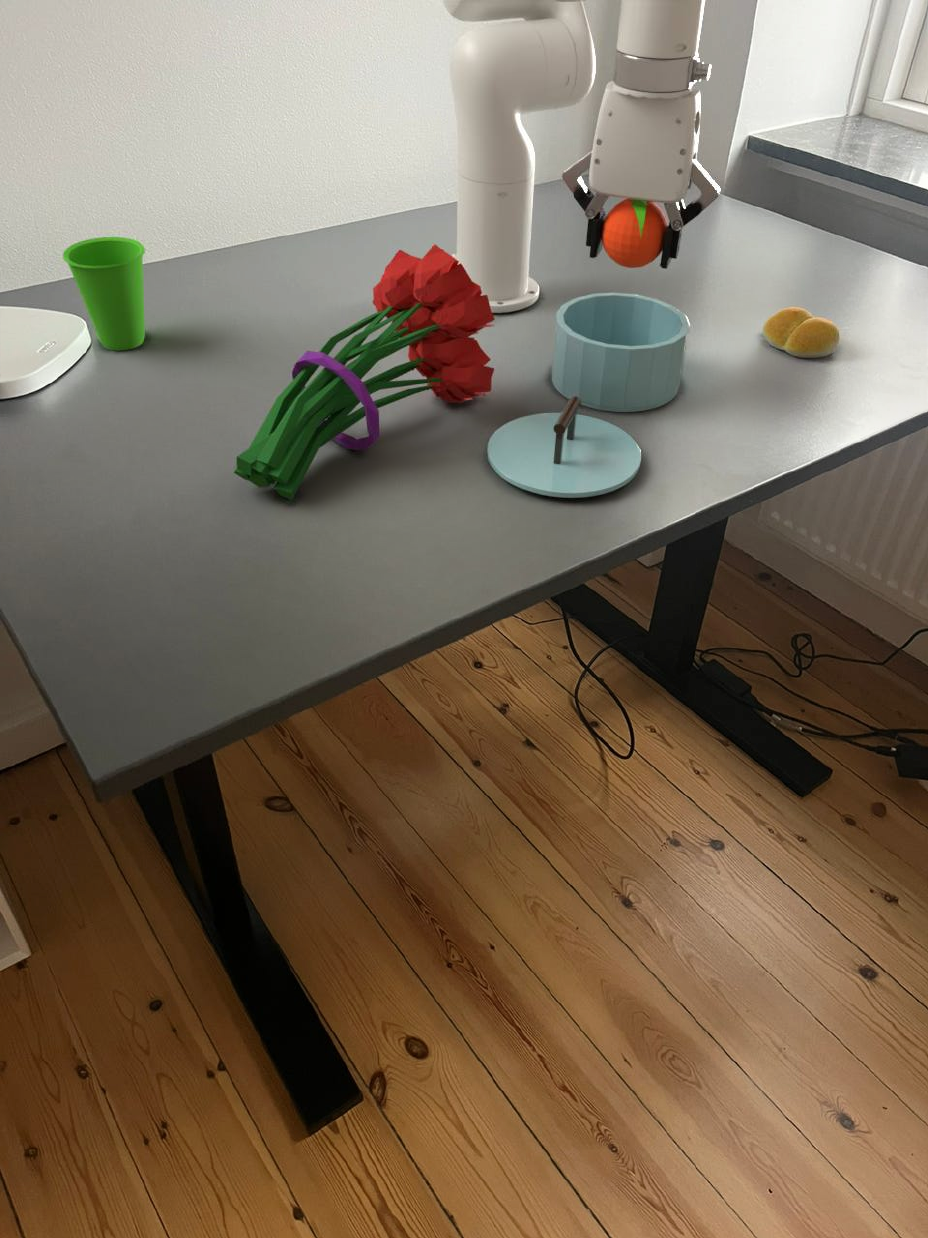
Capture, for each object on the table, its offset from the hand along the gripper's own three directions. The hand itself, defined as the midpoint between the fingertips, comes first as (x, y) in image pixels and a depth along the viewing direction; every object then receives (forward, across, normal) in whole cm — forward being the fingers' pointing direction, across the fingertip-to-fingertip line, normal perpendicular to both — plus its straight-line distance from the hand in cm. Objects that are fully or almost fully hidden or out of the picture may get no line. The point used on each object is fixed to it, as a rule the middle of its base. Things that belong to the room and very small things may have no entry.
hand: (630, 257), depth 107 cm
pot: (+14, 0, 0) cm, 14 cm away
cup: (+15, +58, +12) cm, 61 cm away
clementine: (+1, 0, 0) cm, 1 cm away
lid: (+14, +1, +19) cm, 23 cm away
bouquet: (+15, +21, +23) cm, 34 cm away
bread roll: (+15, -19, -18) cm, 30 cm away
